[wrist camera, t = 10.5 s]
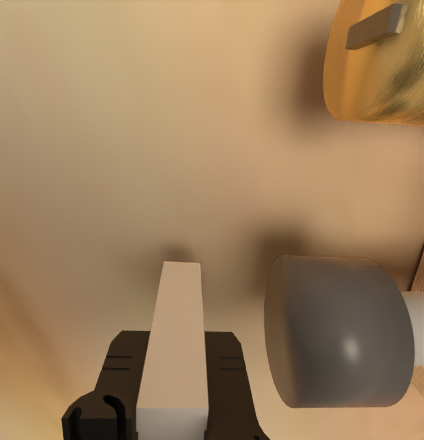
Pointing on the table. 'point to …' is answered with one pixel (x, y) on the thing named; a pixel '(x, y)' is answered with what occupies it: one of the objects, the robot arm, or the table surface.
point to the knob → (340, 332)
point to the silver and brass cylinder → (376, 62)
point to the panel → (420, 378)
